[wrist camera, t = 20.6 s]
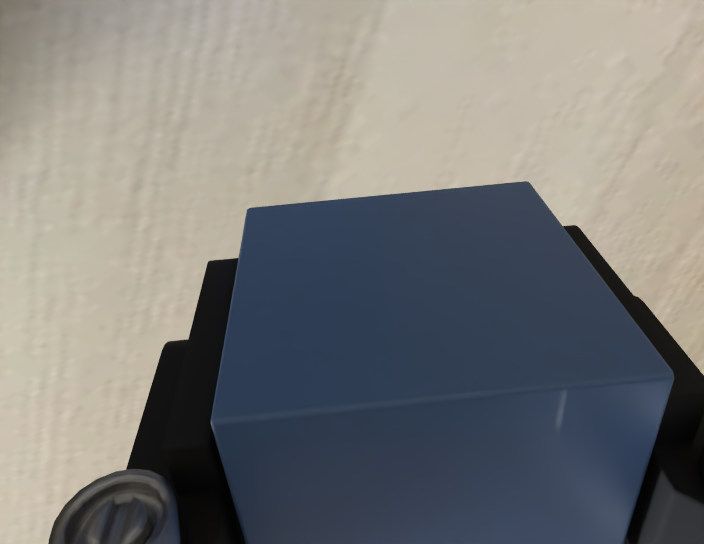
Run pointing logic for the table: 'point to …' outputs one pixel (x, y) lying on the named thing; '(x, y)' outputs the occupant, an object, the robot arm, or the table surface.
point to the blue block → (431, 376)
